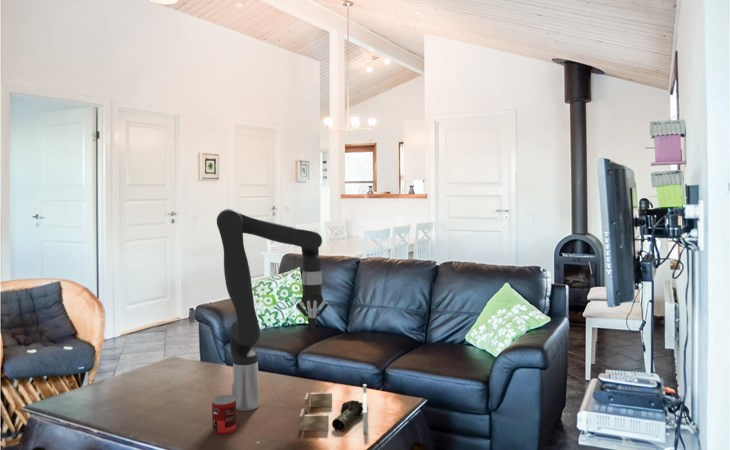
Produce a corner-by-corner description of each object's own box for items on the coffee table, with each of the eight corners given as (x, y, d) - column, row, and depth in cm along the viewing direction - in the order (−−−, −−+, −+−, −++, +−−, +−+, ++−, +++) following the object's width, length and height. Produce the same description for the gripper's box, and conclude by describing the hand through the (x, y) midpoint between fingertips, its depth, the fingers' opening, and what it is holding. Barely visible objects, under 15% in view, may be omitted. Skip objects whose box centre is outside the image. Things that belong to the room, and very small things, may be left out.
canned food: (214, 426, 190) (214, 394, 190) (238, 425, 191) (237, 394, 190) (210, 435, 183) (209, 403, 182) (234, 434, 183) (234, 402, 183)
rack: (363, 433, 183) (363, 412, 183) (363, 402, 211) (363, 384, 211) (367, 433, 183) (366, 412, 183) (366, 402, 211) (366, 384, 211)
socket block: (299, 430, 186) (299, 416, 185) (306, 405, 208) (306, 392, 208) (328, 430, 186) (328, 415, 186) (332, 405, 208) (331, 392, 208)
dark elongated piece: (344, 433, 184) (344, 416, 184) (327, 430, 187) (326, 413, 187) (365, 413, 200) (365, 398, 200) (349, 411, 203) (348, 396, 203)
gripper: (293, 284, 208) (294, 329, 209) (328, 283, 208) (329, 329, 209) (296, 281, 215) (296, 324, 216) (329, 281, 215) (330, 324, 216)
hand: (312, 326), depth 212 cm, fingers closed
